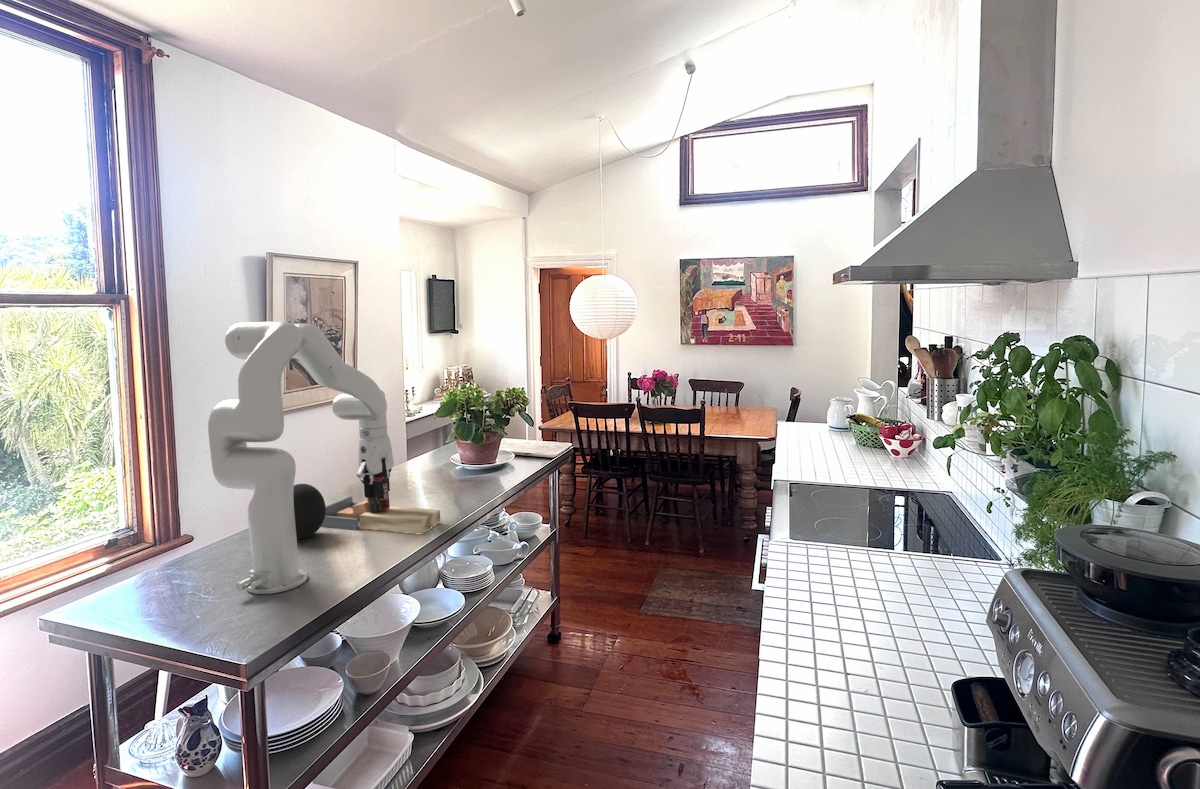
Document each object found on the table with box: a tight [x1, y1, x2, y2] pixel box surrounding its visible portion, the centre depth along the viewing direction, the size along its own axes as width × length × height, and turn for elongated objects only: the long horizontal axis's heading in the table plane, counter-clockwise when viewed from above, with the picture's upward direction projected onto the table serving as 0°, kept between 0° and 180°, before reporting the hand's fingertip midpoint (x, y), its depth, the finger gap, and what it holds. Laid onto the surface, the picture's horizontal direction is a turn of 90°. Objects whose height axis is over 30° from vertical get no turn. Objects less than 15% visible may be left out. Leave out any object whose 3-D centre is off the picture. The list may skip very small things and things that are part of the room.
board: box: [359, 505, 442, 534], centre depth 189 cm, size 10×20×4 cm, turn 72°
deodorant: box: [366, 458, 391, 511], centre depth 190 cm, size 6×6×15 cm
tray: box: [321, 495, 363, 530], centre depth 195 cm, size 14×13×5 cm
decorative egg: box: [293, 483, 327, 539], centre depth 181 cm, size 12×12×15 cm
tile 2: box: [352, 500, 369, 514], centre depth 193 cm, size 5×5×2 cm
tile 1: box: [337, 508, 362, 519], centre depth 195 cm, size 5×5×2 cm
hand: (377, 493), depth 190 cm, fingers closed on deodorant, 5 cm apart
